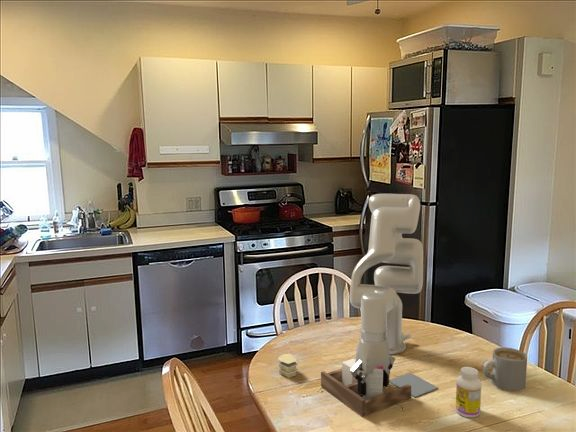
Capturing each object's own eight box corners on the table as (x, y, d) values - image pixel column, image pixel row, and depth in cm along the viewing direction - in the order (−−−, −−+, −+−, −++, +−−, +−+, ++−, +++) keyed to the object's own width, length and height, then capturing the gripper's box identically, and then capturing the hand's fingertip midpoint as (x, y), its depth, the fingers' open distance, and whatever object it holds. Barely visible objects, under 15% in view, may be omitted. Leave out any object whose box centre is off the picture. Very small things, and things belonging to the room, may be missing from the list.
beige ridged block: (307, 375, 163) (306, 359, 162) (286, 383, 158) (285, 367, 157) (289, 364, 171) (288, 349, 170) (268, 372, 166) (268, 357, 165)
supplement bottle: (451, 406, 142) (453, 365, 140) (473, 405, 142) (475, 364, 140) (461, 419, 135) (463, 376, 133) (484, 417, 136) (486, 375, 134)
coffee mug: (518, 376, 159) (520, 347, 157) (530, 391, 149) (532, 361, 148) (476, 375, 160) (477, 346, 159) (485, 390, 150) (487, 360, 149)
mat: (410, 373, 162) (410, 372, 162) (437, 388, 152) (437, 387, 152) (387, 381, 157) (387, 380, 157) (414, 397, 147) (415, 396, 147)
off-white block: (354, 381, 158) (354, 358, 157) (364, 387, 154) (364, 364, 152) (342, 385, 155) (342, 362, 154) (351, 392, 151) (351, 368, 150)
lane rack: (367, 371, 164) (367, 357, 164) (411, 397, 147) (411, 382, 146) (321, 386, 155) (320, 372, 154) (362, 417, 137) (362, 400, 136)
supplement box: (382, 405, 143) (383, 369, 141) (362, 404, 144) (362, 368, 142) (382, 395, 148) (383, 360, 147) (363, 394, 150) (363, 359, 148)
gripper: (387, 324, 151) (386, 376, 153) (342, 336, 142) (342, 392, 145) (404, 332, 144) (403, 386, 147) (358, 345, 135) (358, 403, 138)
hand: (373, 389), depth 146 cm, fingers closed on supplement box, 8 cm apart
